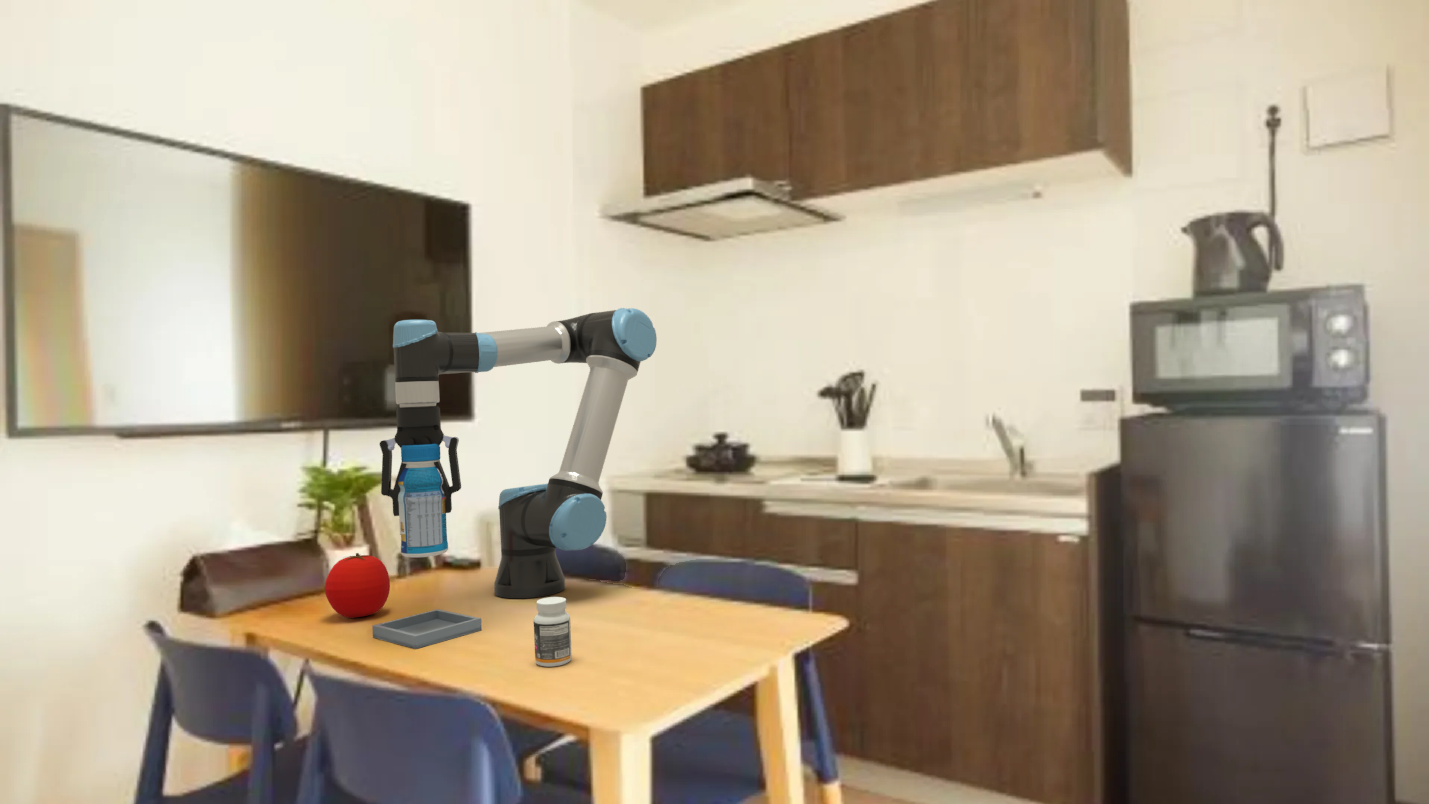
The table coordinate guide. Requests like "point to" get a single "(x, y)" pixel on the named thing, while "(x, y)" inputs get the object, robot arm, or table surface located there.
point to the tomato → (357, 586)
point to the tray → (426, 628)
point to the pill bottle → (552, 632)
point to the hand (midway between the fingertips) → (423, 532)
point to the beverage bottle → (422, 502)
